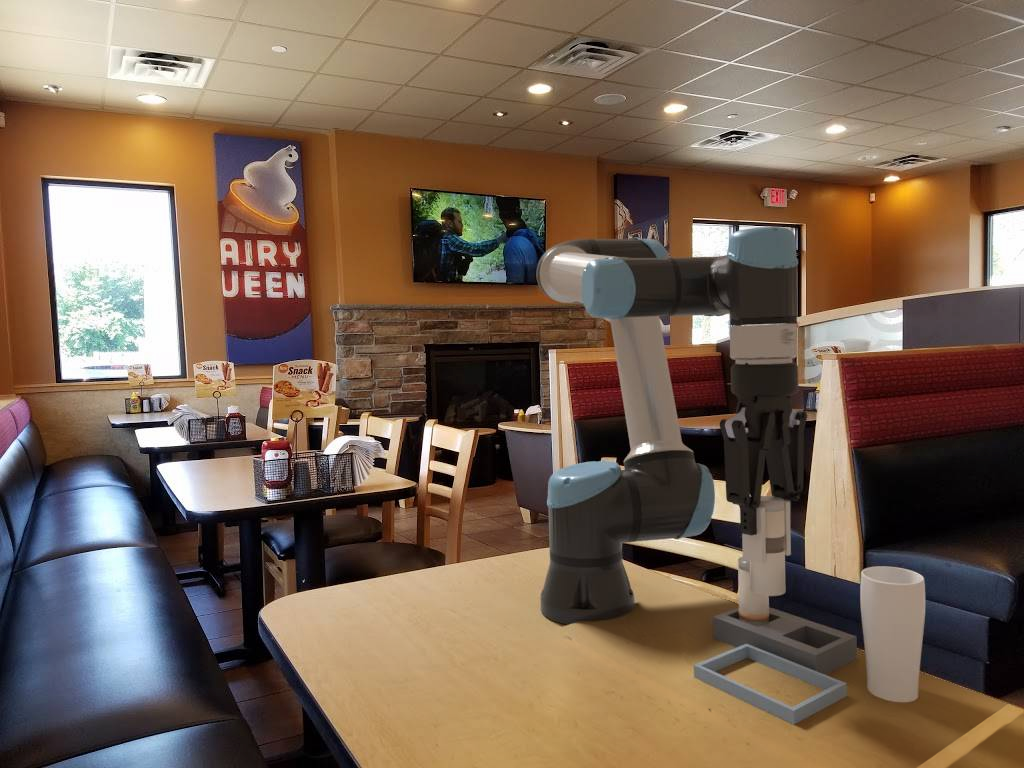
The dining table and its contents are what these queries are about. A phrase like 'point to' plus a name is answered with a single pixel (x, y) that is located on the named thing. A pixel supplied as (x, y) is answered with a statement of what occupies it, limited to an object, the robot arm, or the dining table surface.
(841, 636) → the fuse block
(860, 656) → the dining table surface
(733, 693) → the parts tray
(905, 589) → the drinking glass
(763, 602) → the fuse
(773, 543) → the cylinder
